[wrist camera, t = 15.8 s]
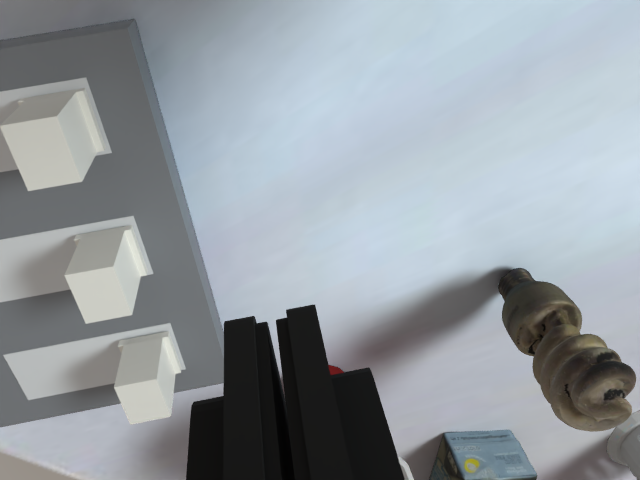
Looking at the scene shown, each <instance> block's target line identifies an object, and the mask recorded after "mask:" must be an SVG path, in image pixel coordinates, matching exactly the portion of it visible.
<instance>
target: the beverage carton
mask: <svg viewBox="0 0 640 480" xmlns="http://www.w3.org/2000/svg"><path fill="white" fill-rule="evenodd" d="M536 479H537V474H536V472H535V470H534V468H533V467H532V465H531V463H530V462H529V460H528V458H527V456H526V454H525V452H524V450H523V449H522V447H521V445H520V443H519V441H518V440H517V439H516V438H515V436H514V435H513V433H512V432H511V430H496V431H471V432H449V433H444V434H443V437H442V441H441V444H440V447H439V451H438V454H437V457H436V460H435V463H434V466H433V469H432V473H431V476H430V480H536Z"/></svg>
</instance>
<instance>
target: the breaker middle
mask: <svg viewBox="0 0 640 480" xmlns="http://www.w3.org/2000/svg"><path fill="white" fill-rule="evenodd" d="M74 241H75V244H76V246H77V247H76V250H75V252H74V254H73V257H72V259H71V261H70V264H69V266H68V268H67V271H66V273H65V275H64V276H65V278H66V280H67V282H68V285H69V287H70V289H71V291H72V294H73V296H74V298H75V300H76V303H77V305H78V307H79V310H80V312H81V314H82V316H83V319H84V321H85V323H86V324H88V323H93V322H98V321H104V320H109V319H114V318H119V317H125V316H130V315H132V314H133V309H134V305H135V300H136V296H137V291H138V287H139V283H140V278H141V276H147V272H148V270H147V267H146V264H145V261H144V258H143V255H142V252H141V249H140V247H139V244H138V241H137V238H136V235H135V232H134V229H133V226H132V225H129V226H124V227H118V228H113V229H107V230H102V231H96V232H91V233H85V234H80V235H76V236H75V239H74Z"/></svg>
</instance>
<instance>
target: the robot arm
mask: <svg viewBox="0 0 640 480" xmlns="http://www.w3.org/2000/svg"><path fill="white" fill-rule="evenodd" d="M286 313H287V318H283V319H278V320H276V325H277V333H278V342H279V350H280V358H281V367H282V375H283V384H284V392H285V398H284V394H283V389H282V385H281V380H280V376H279V371H278V367H277V362H276V358H275V354H274V349H273V345H272V340H271V336H270V331H269V327H268V323H267V322H262V323H256V319H255V317H254V316H251V317H246V318H241V319H235V320H230V321H225V323H224V396H222V397H217V398H212V399H206V400H201V401H196V402H193V405H192V409H191V418H190V433H189V447H188V462H187V476H186V480H405V479H404V475H403V472H402V469H401V466H400V462H399V459H398V456H397V453H396V449H395V446H394V443H393V440H392V436H391V433H390V430H389V427H388V424H387V420H386V417H385V414H384V411H383V407H382V404H381V401H380V398H379V394H378V391H377V388H376V385H375V382H374V378H373V375H372V372H371V370H370V368H364V369H359V370H354V371H349V372H344V373H339V374H334V375H330V371H329V366H328V361H327V357H326V352H325V348H324V343H323V339H322V334H321V330H320V325H319V321H318V316H317V312H316V307H315V305H309V306H304V307H299V308H293V309H288V310H286ZM285 400H286V402H285Z"/></svg>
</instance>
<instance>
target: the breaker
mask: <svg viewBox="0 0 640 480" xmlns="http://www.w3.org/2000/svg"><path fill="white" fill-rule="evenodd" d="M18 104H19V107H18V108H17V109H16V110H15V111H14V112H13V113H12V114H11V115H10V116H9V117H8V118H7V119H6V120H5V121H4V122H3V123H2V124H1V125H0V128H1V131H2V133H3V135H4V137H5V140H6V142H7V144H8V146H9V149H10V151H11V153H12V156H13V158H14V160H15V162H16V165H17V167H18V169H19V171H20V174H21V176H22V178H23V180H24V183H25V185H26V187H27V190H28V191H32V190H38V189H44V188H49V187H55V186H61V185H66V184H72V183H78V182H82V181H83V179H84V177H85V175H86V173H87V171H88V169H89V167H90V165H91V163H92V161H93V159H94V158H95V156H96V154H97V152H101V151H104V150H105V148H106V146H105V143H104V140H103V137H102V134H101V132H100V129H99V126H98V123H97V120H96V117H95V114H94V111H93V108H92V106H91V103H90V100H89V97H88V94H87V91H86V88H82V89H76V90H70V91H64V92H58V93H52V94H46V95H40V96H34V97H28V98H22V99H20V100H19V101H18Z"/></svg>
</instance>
